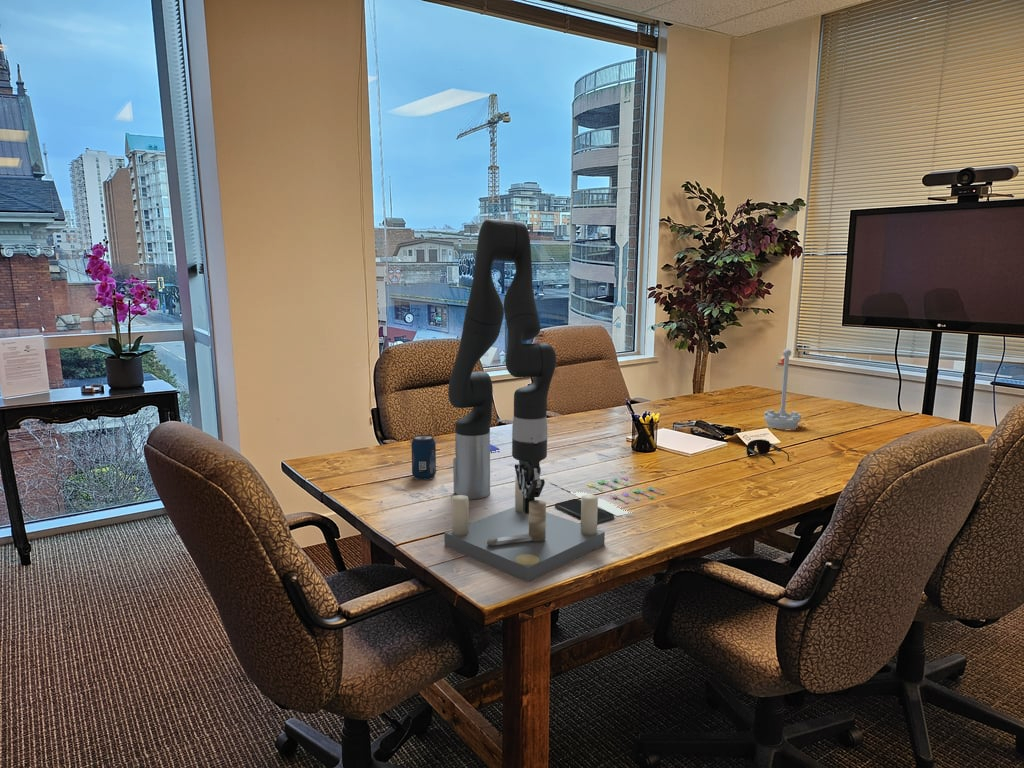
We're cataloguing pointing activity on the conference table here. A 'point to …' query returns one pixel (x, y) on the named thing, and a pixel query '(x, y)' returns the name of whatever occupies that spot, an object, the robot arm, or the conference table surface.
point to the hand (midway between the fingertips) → (528, 512)
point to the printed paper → (610, 507)
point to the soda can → (423, 457)
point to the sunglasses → (762, 447)
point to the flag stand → (783, 404)
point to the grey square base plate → (525, 556)
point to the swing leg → (535, 526)
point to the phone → (574, 510)
